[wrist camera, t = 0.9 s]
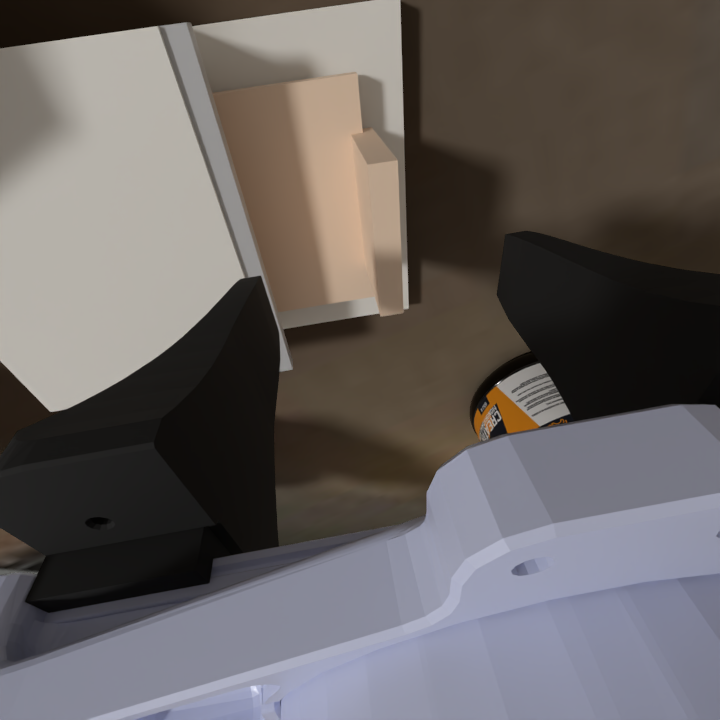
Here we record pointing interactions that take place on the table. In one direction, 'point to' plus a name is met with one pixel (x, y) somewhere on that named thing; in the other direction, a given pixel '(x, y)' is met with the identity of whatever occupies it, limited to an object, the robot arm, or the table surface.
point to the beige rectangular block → (317, 191)
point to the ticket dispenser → (155, 184)
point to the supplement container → (517, 400)
